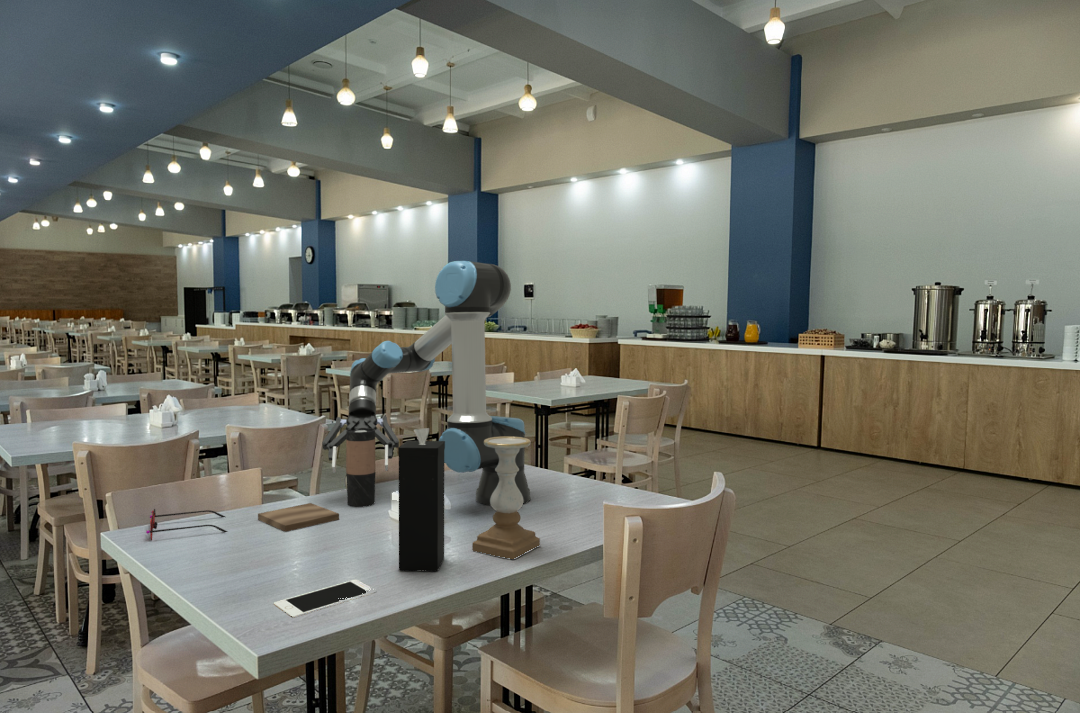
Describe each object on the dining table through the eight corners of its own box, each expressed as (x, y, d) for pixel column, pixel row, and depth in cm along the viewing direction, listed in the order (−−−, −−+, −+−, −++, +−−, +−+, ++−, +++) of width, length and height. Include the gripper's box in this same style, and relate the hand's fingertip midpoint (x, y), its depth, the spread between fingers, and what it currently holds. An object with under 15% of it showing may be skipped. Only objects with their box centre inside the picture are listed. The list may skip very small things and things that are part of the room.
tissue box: (407, 557, 144) (407, 424, 142) (444, 558, 143) (445, 425, 142) (398, 571, 136) (398, 430, 134) (437, 572, 135) (438, 431, 134)
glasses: (149, 526, 164) (149, 506, 164) (225, 518, 172) (225, 498, 172) (146, 544, 152) (145, 521, 152) (228, 534, 159) (227, 512, 159)
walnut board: (339, 519, 170) (339, 513, 170) (285, 531, 160) (285, 525, 160) (310, 508, 180) (310, 502, 180) (258, 519, 170) (258, 513, 170)
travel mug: (371, 507, 181) (371, 432, 180) (342, 507, 182) (342, 432, 180) (378, 500, 189) (378, 427, 188) (351, 499, 189) (350, 427, 188)
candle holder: (513, 560, 142) (513, 446, 141) (471, 550, 148) (471, 441, 147) (541, 546, 152) (542, 438, 151) (500, 537, 158) (501, 434, 156)
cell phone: (272, 605, 120) (272, 602, 120) (355, 582, 131) (355, 578, 131) (292, 620, 114) (292, 616, 114) (377, 594, 126) (377, 590, 126)
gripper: (406, 412, 202) (407, 474, 188) (318, 414, 197) (312, 478, 183) (407, 396, 197) (408, 459, 183) (315, 398, 191) (309, 462, 178)
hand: (360, 468), depth 183 cm, fingers open, 13 cm apart
